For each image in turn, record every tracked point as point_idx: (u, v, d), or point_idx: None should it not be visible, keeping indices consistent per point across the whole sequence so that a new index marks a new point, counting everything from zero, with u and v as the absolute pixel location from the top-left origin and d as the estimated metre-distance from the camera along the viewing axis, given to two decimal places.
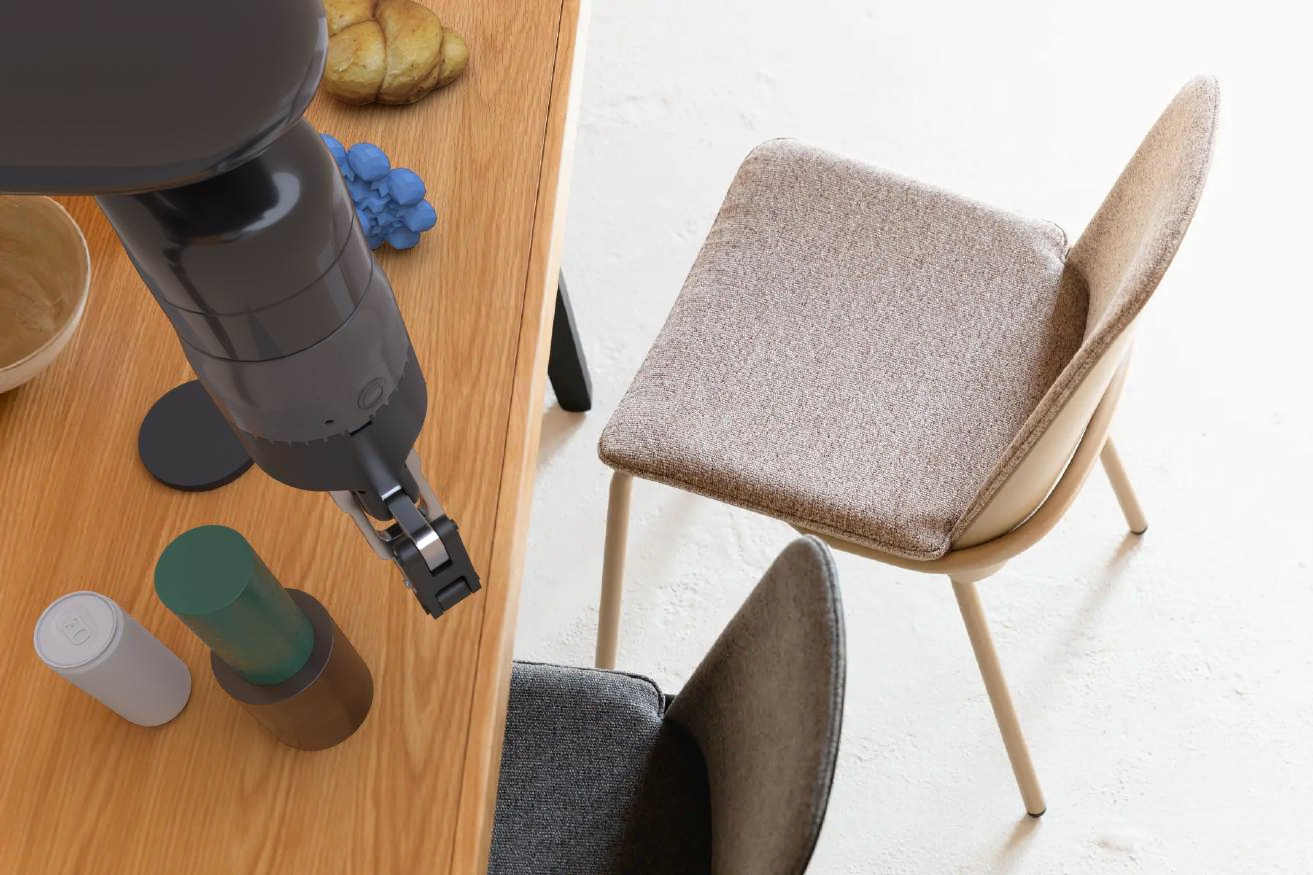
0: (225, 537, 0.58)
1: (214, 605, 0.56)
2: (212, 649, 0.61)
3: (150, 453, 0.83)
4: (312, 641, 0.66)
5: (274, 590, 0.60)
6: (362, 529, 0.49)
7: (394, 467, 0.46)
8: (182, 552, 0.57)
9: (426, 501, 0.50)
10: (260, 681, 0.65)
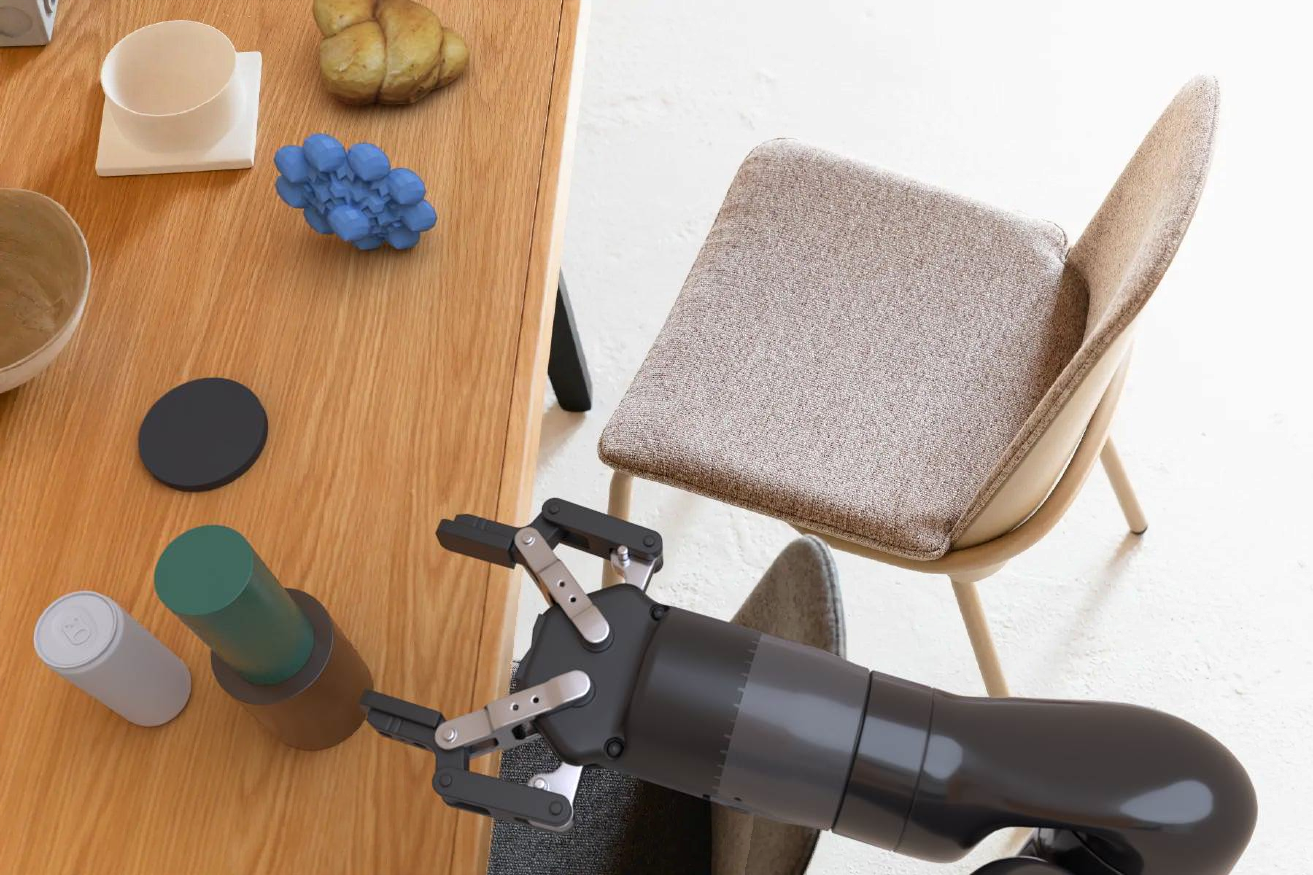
0: (225, 537, 0.58)
1: (214, 605, 0.56)
2: (212, 649, 0.61)
3: (150, 453, 0.83)
4: (312, 641, 0.66)
5: (274, 590, 0.60)
6: (534, 715, 0.49)
7: (624, 773, 0.50)
8: (182, 552, 0.57)
9: (530, 738, 0.52)
10: (260, 681, 0.65)
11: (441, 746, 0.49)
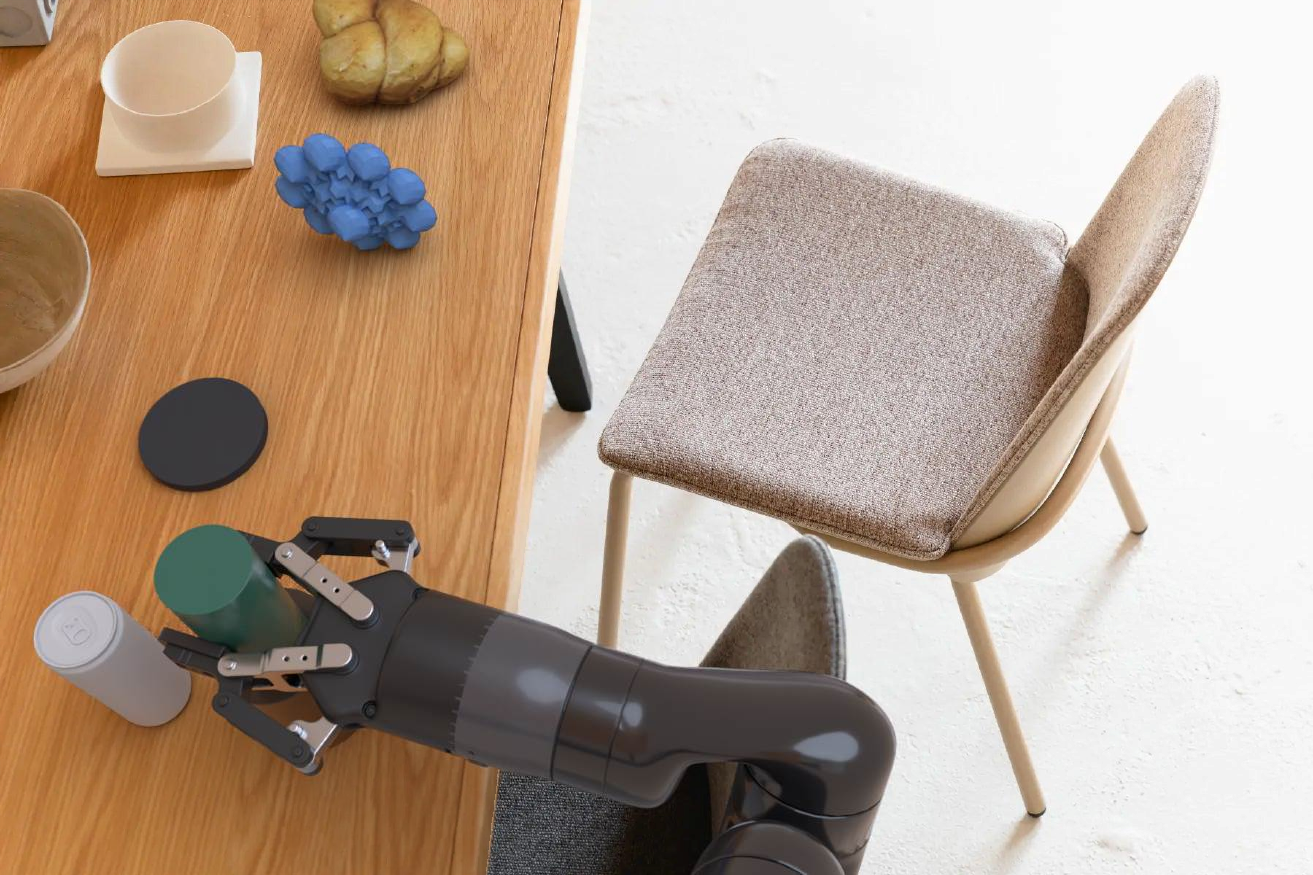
0: (225, 537, 0.58)
1: (214, 604, 0.56)
2: None
3: (150, 453, 0.83)
4: None
5: (274, 590, 0.60)
6: (298, 670, 0.58)
7: None
8: (182, 552, 0.57)
9: (304, 688, 0.60)
10: None
11: (222, 673, 0.58)
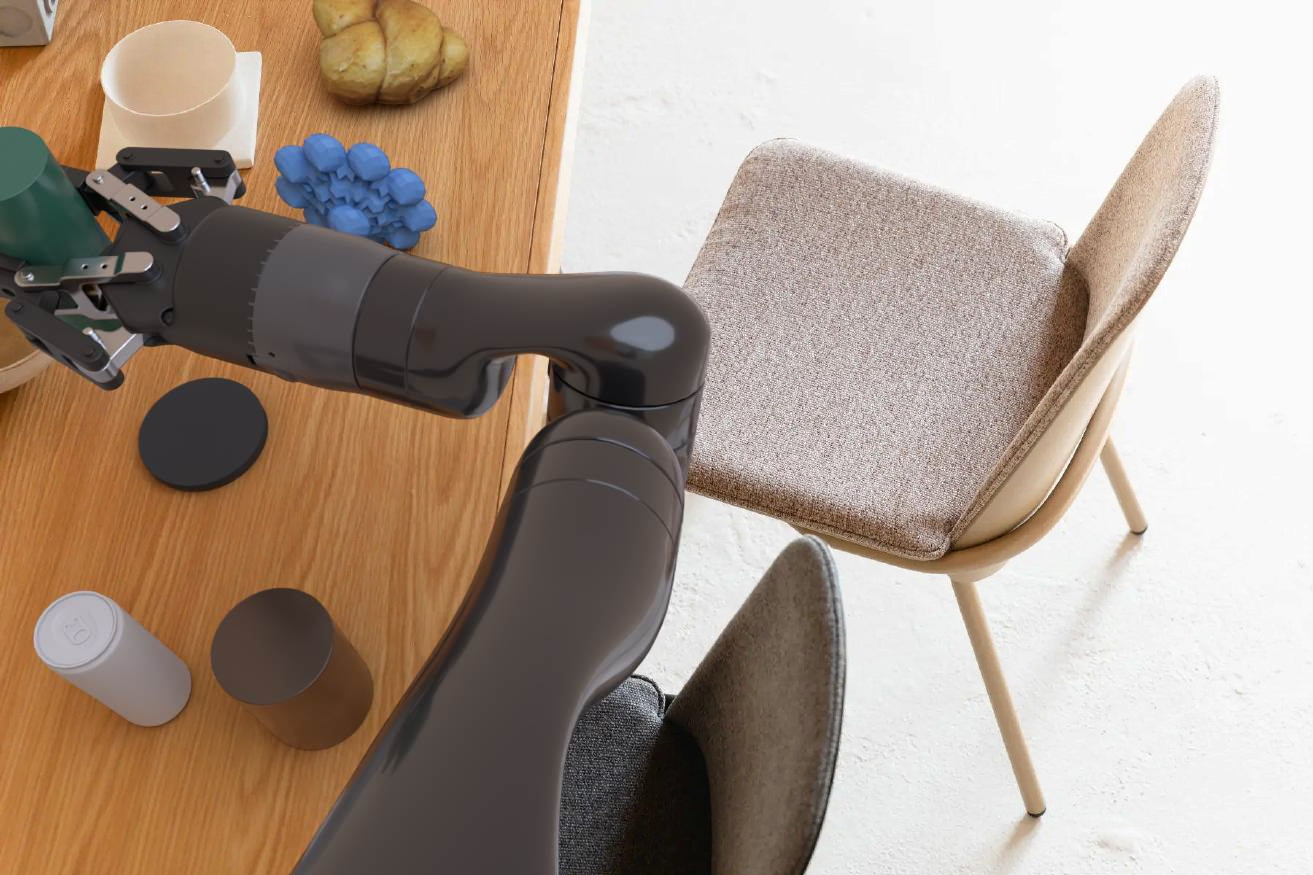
0: (21, 137, 0.55)
1: (2, 195, 0.53)
2: None
3: (150, 453, 0.83)
4: None
5: (80, 209, 0.57)
6: (96, 277, 0.55)
7: (187, 347, 0.56)
8: None
9: (111, 313, 0.58)
10: None
11: (19, 284, 0.56)
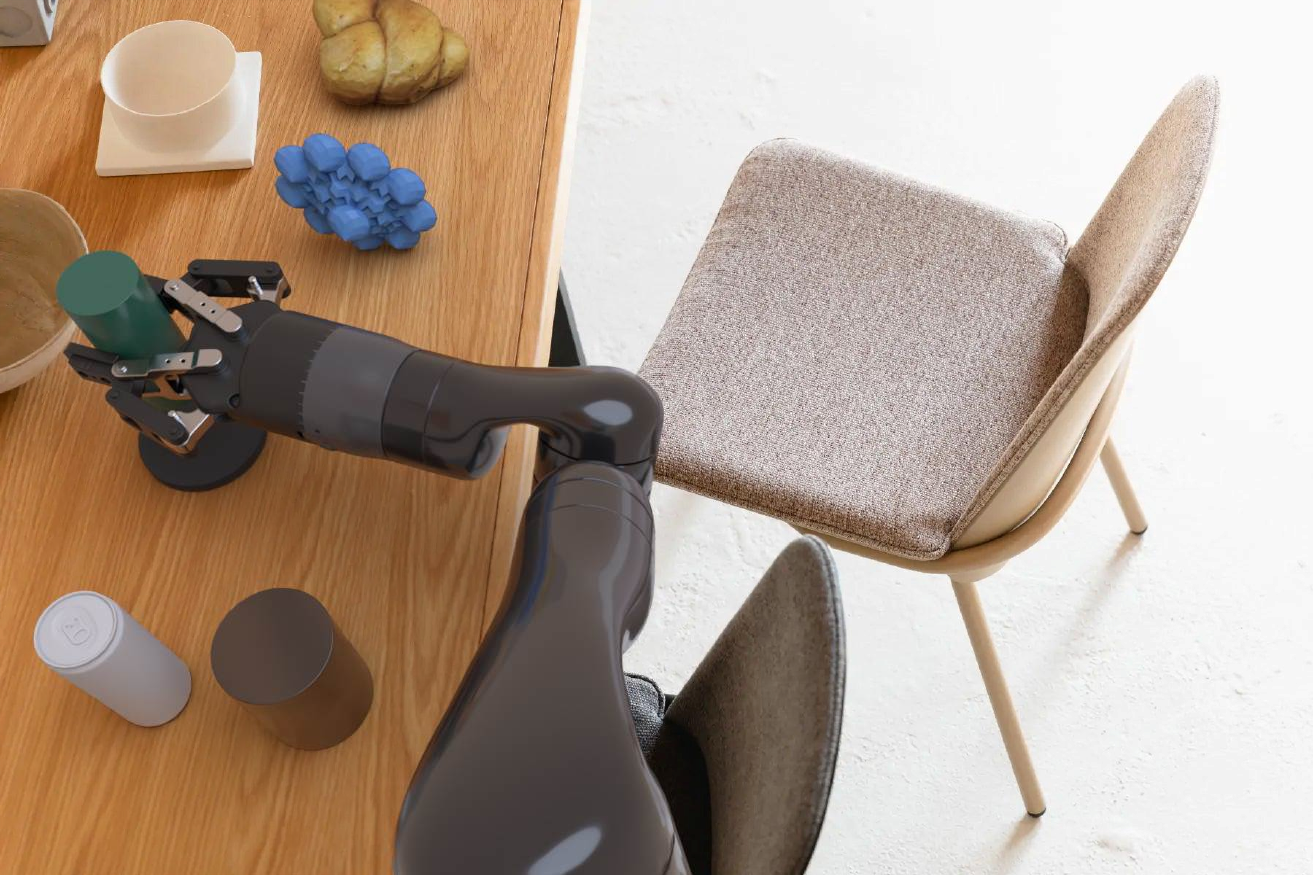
0: (116, 259, 0.70)
1: (104, 308, 0.68)
2: None
3: (150, 453, 0.83)
4: None
5: (161, 312, 0.72)
6: (177, 369, 0.70)
7: (249, 424, 0.70)
8: (80, 270, 0.69)
9: (186, 395, 0.72)
10: (157, 406, 0.77)
11: (115, 375, 0.70)
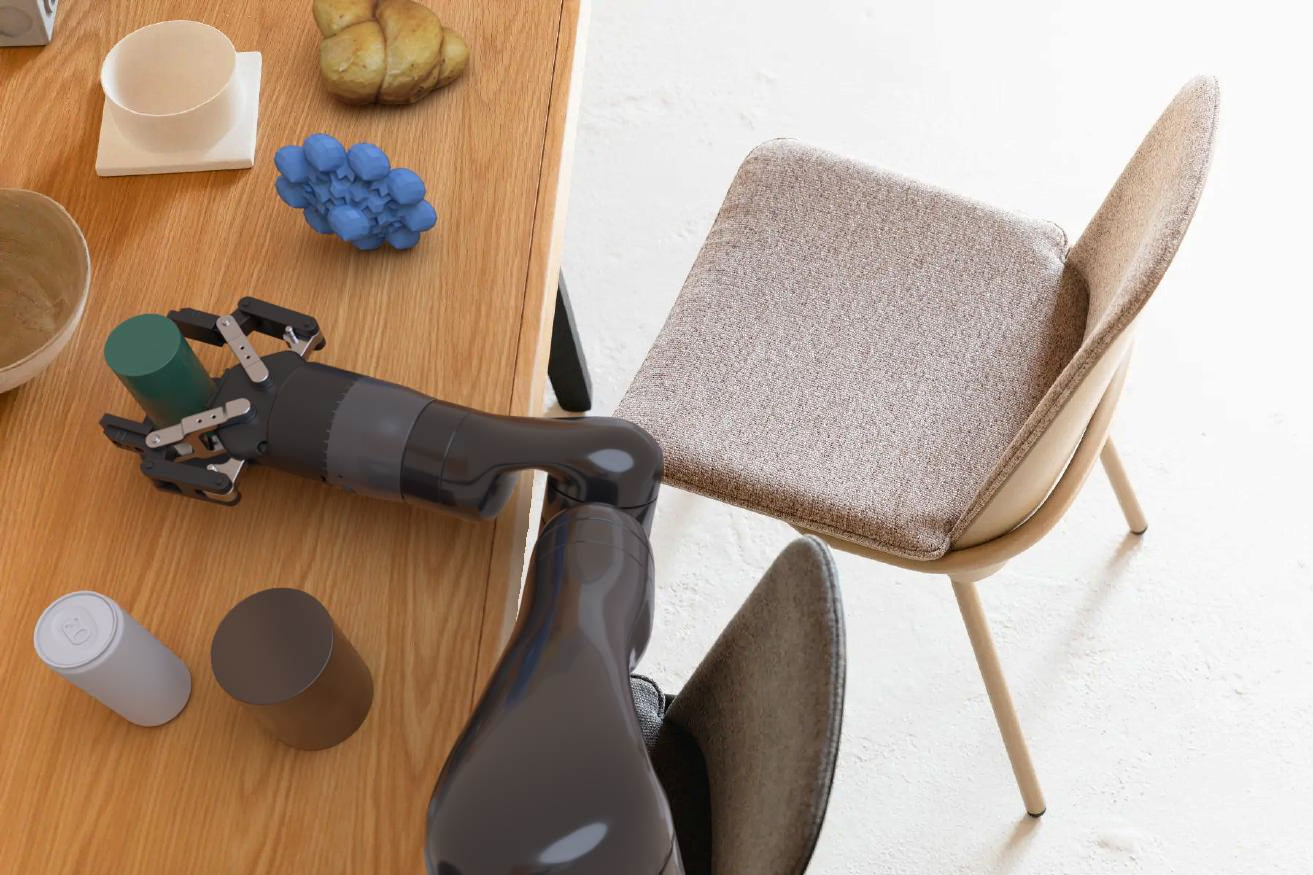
0: (159, 322, 0.75)
1: (149, 369, 0.73)
2: (152, 418, 0.78)
3: None
4: None
5: (199, 369, 0.78)
6: (211, 426, 0.74)
7: (275, 468, 0.75)
8: (126, 332, 0.75)
9: (218, 450, 0.77)
10: None
11: (149, 445, 0.74)
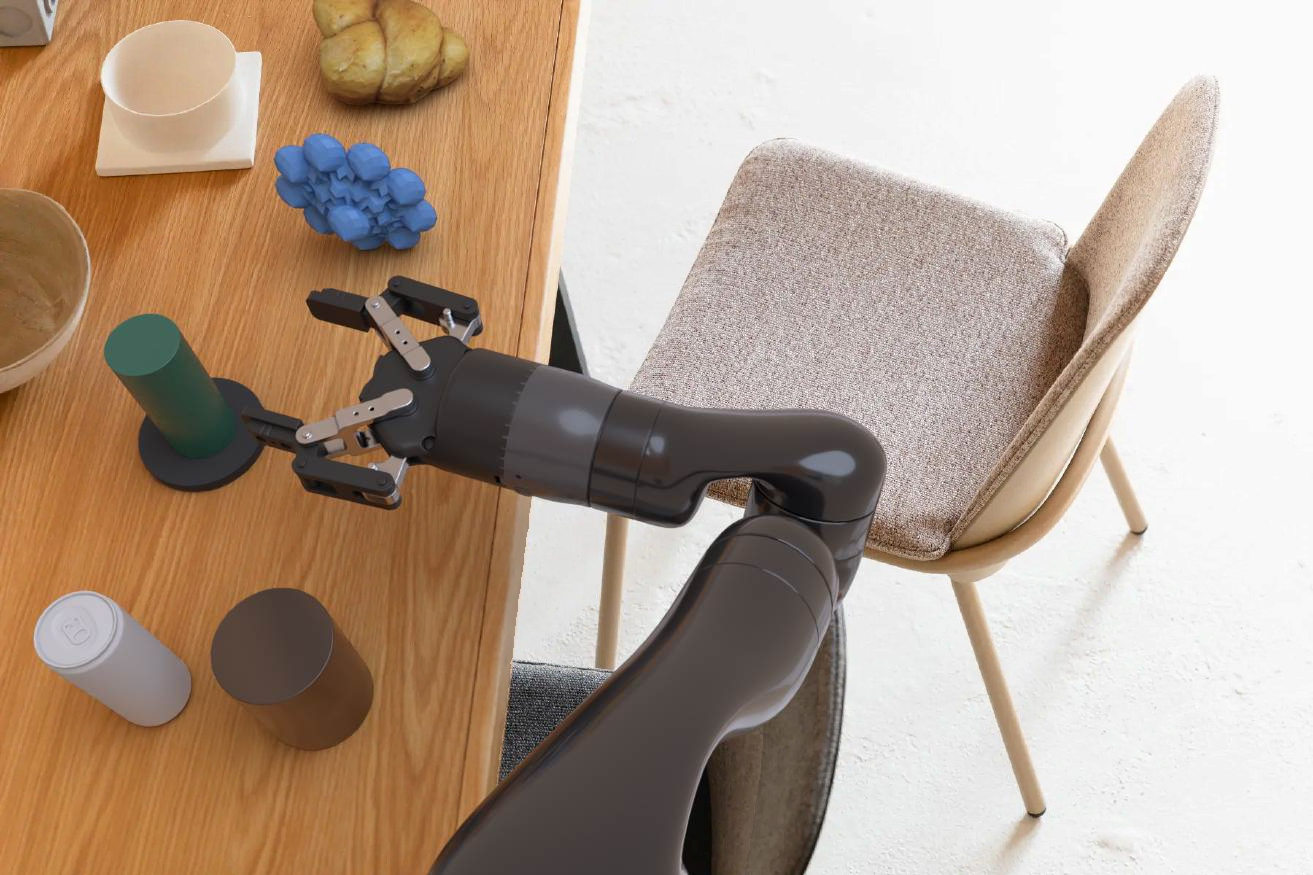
0: (159, 322, 0.75)
1: (149, 369, 0.73)
2: (152, 418, 0.78)
3: (150, 453, 0.83)
4: (235, 426, 0.84)
5: (199, 369, 0.78)
6: (369, 419, 0.66)
7: (439, 467, 0.67)
8: (126, 332, 0.75)
9: (372, 447, 0.68)
10: (192, 454, 0.82)
11: (300, 441, 0.66)
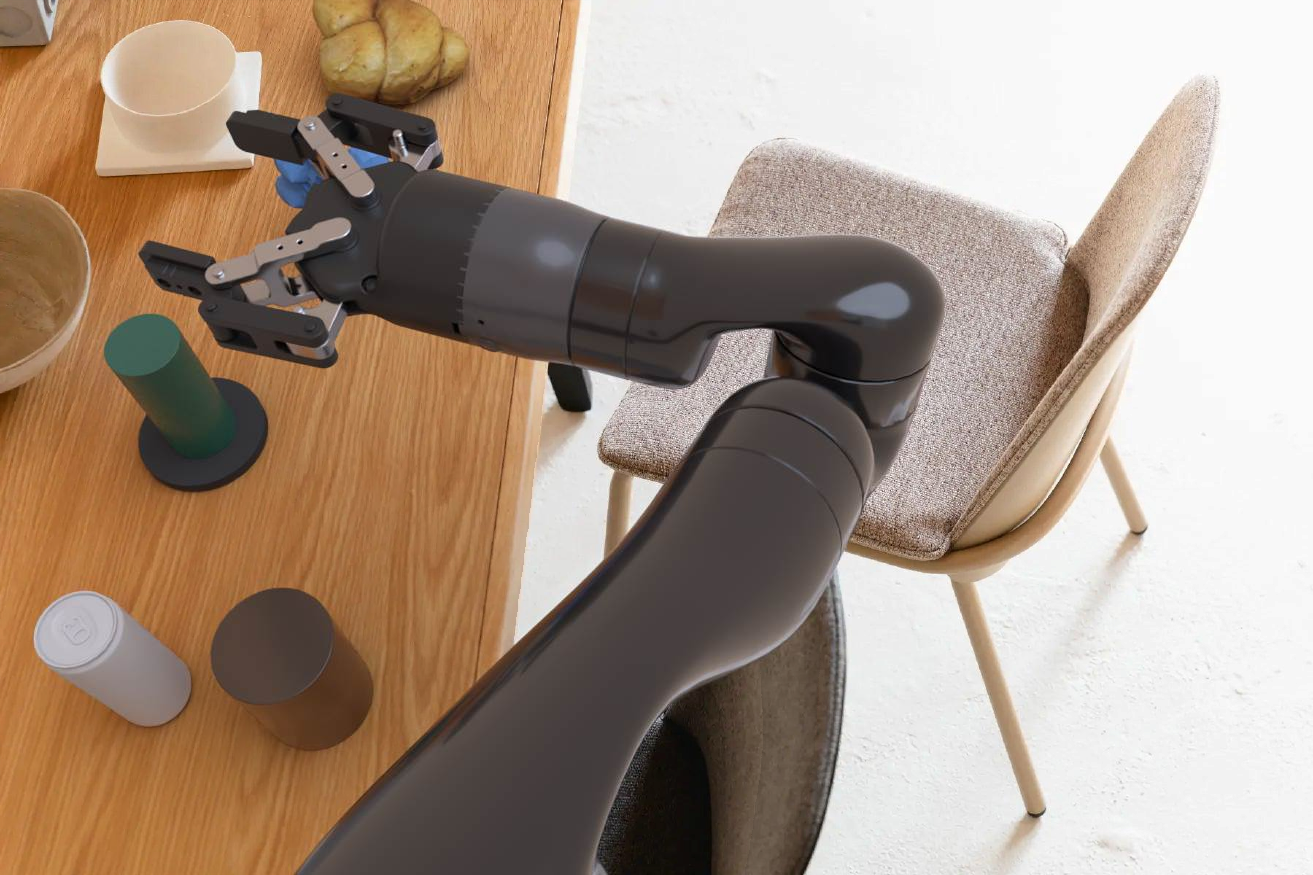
0: (159, 322, 0.75)
1: (149, 369, 0.73)
2: (152, 418, 0.78)
3: (150, 453, 0.83)
4: (235, 426, 0.84)
5: (199, 369, 0.78)
6: (297, 254, 0.53)
7: (385, 316, 0.54)
8: (126, 332, 0.75)
9: (303, 295, 0.55)
10: (192, 454, 0.82)
11: (210, 281, 0.53)
